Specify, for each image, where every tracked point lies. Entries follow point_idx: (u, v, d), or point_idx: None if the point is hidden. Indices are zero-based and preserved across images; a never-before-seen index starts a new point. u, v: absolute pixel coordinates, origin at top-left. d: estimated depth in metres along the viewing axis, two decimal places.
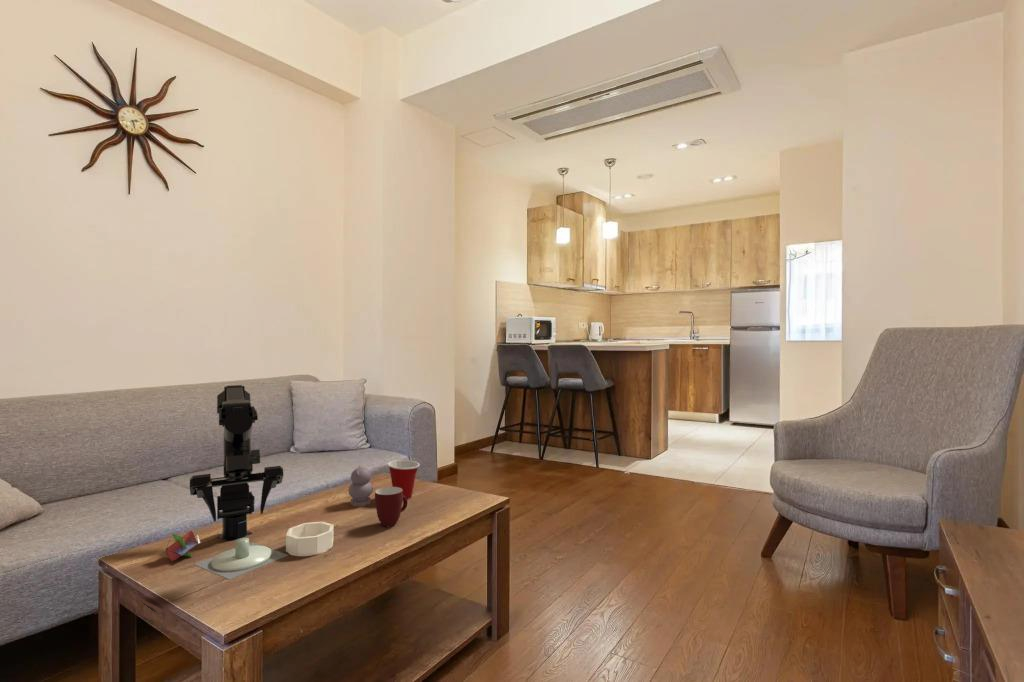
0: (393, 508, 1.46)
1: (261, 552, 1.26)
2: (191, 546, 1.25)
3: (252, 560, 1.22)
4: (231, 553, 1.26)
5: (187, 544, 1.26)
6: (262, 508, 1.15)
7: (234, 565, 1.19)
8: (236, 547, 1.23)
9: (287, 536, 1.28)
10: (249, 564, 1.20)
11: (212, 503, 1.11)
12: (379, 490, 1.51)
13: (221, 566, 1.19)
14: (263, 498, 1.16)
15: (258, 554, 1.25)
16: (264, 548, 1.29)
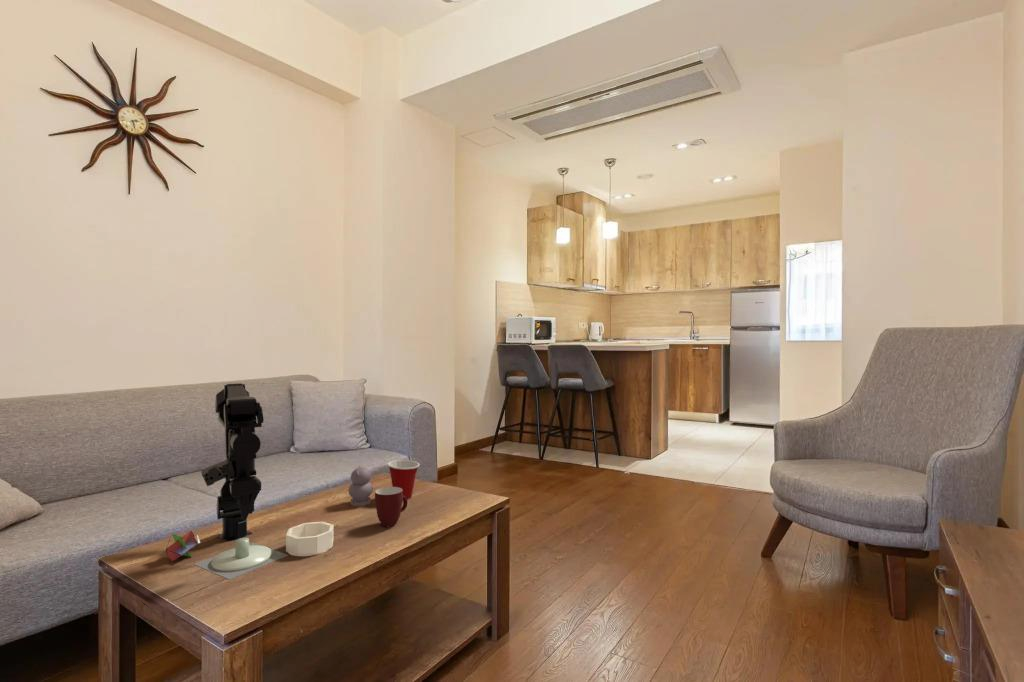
0: (393, 508, 1.46)
1: (261, 552, 1.26)
2: (191, 546, 1.25)
3: (252, 560, 1.22)
4: (231, 553, 1.26)
5: (187, 544, 1.26)
6: (241, 515, 1.20)
7: (234, 565, 1.19)
8: (236, 547, 1.23)
9: (287, 536, 1.28)
10: (249, 564, 1.20)
11: None
12: (379, 490, 1.51)
13: (221, 566, 1.19)
14: (239, 506, 1.19)
15: (258, 554, 1.25)
16: (264, 548, 1.29)
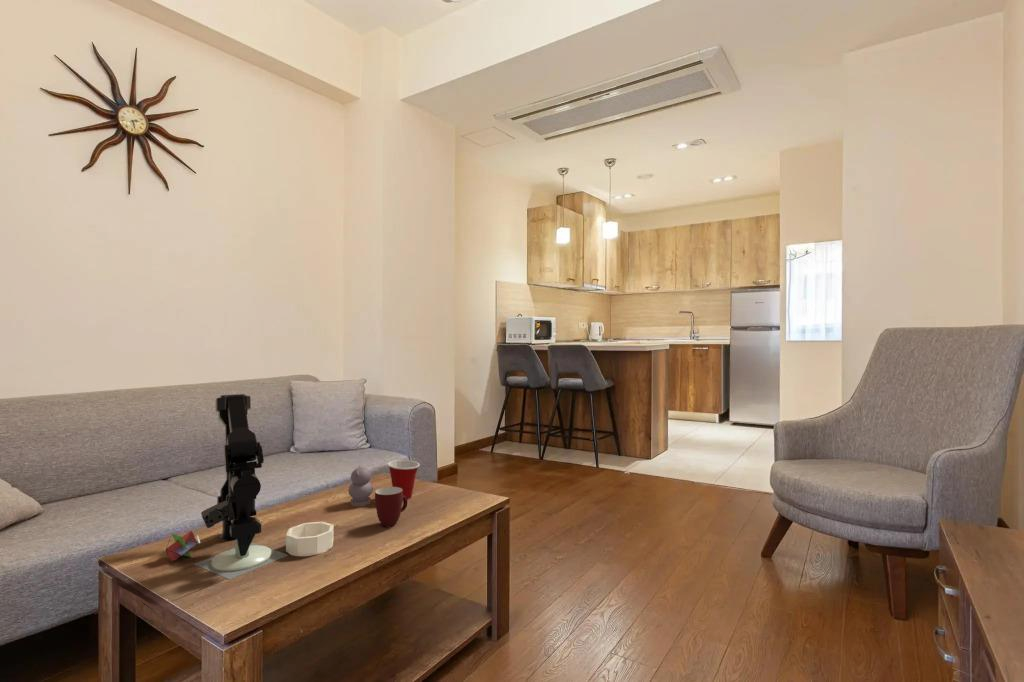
0: (393, 508, 1.46)
1: (261, 552, 1.26)
2: (191, 546, 1.25)
3: (252, 560, 1.22)
4: (231, 553, 1.26)
5: (187, 544, 1.26)
6: None
7: (234, 565, 1.19)
8: (236, 547, 1.23)
9: (287, 536, 1.28)
10: (249, 564, 1.20)
11: None
12: (379, 490, 1.51)
13: (221, 566, 1.19)
14: (238, 544, 1.22)
15: (258, 554, 1.25)
16: (264, 547, 1.29)
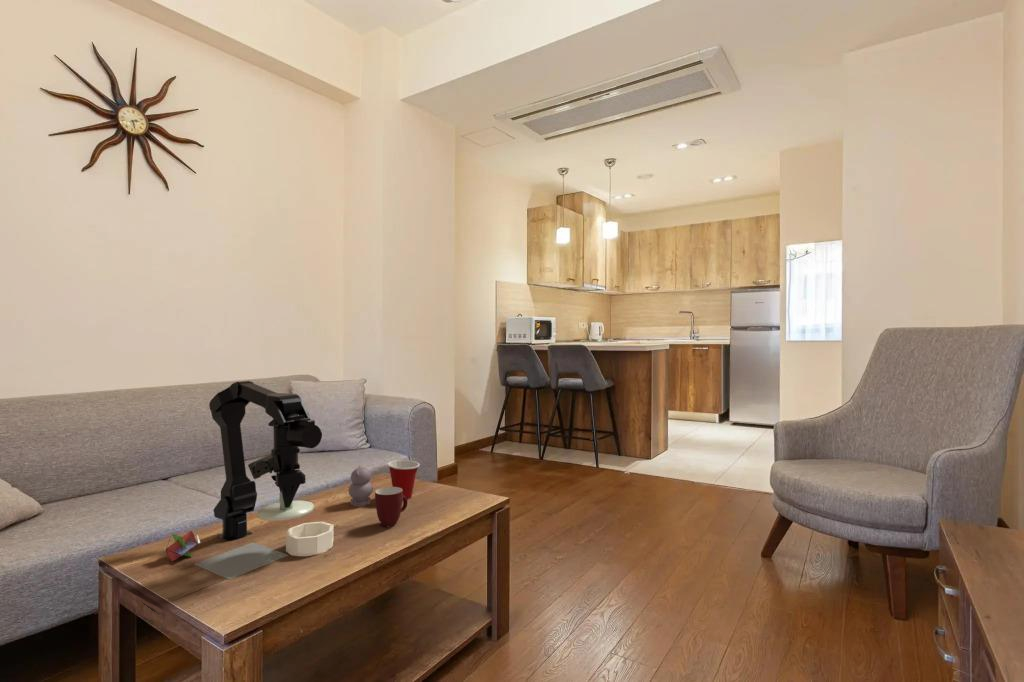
0: (393, 508, 1.46)
1: (304, 505, 1.31)
2: (191, 546, 1.25)
3: (296, 511, 1.26)
4: (275, 506, 1.30)
5: (187, 544, 1.26)
6: (284, 504, 1.27)
7: (280, 515, 1.24)
8: (280, 499, 1.27)
9: (287, 536, 1.28)
10: (294, 514, 1.24)
11: None
12: (379, 490, 1.51)
13: (267, 516, 1.23)
14: None
15: (301, 507, 1.29)
16: (306, 502, 1.33)
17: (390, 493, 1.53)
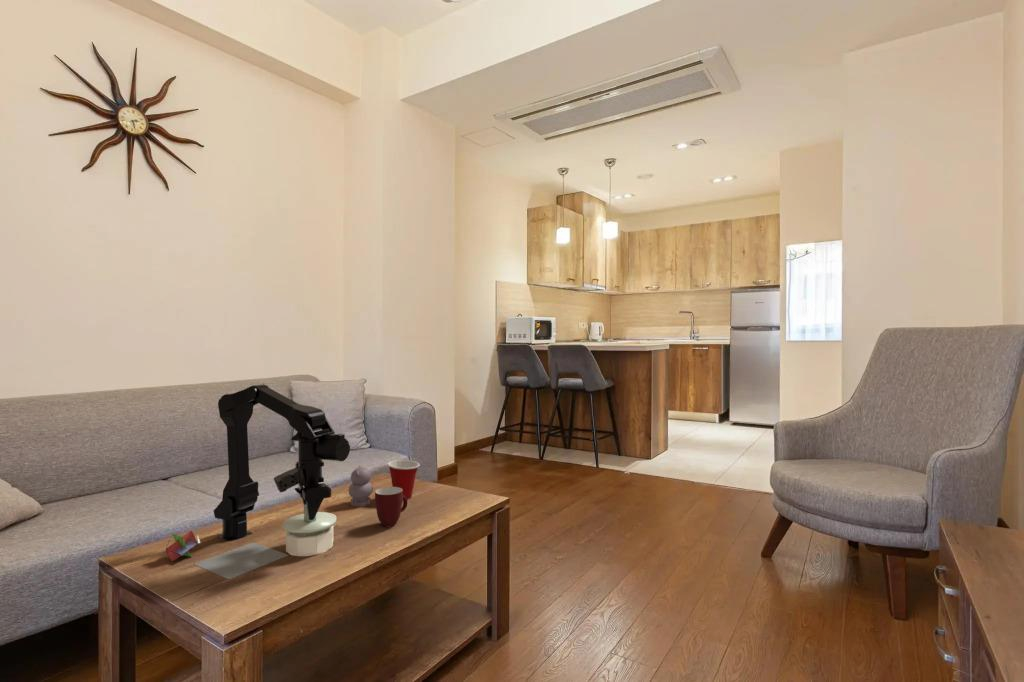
0: (393, 508, 1.46)
1: (327, 517, 1.34)
2: (191, 546, 1.25)
3: (321, 523, 1.29)
4: (299, 518, 1.33)
5: (187, 543, 1.26)
6: None
7: (305, 527, 1.27)
8: (305, 511, 1.30)
9: (287, 536, 1.28)
10: (319, 527, 1.27)
11: (303, 502, 1.33)
12: (379, 490, 1.51)
13: (293, 528, 1.26)
14: (307, 509, 1.29)
15: (324, 519, 1.33)
16: (328, 514, 1.37)
17: (390, 493, 1.53)
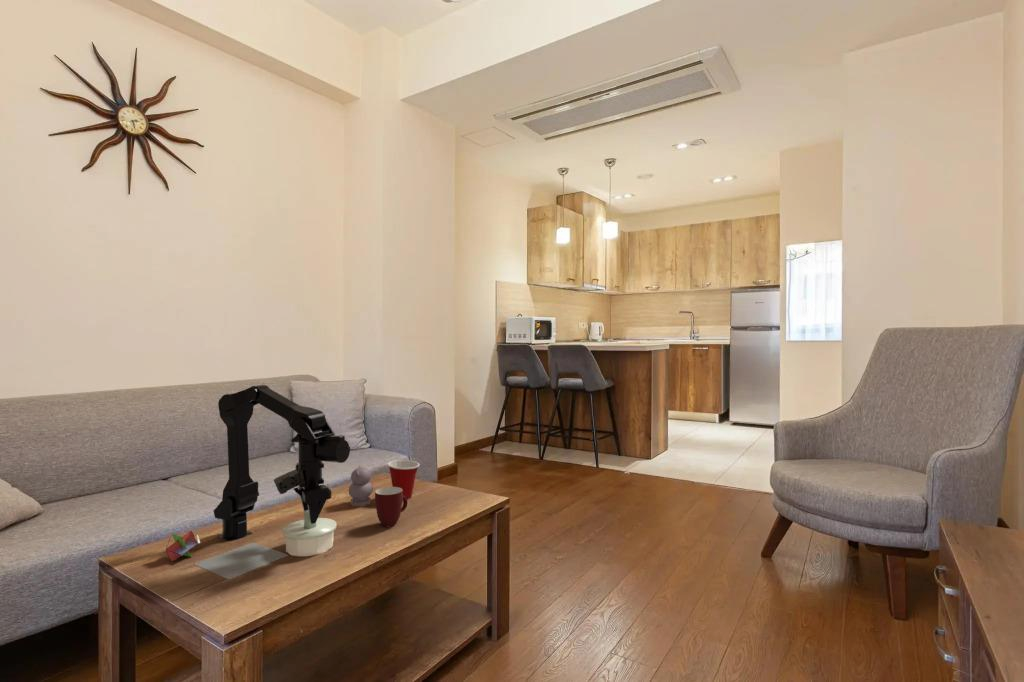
0: (393, 508, 1.46)
1: (327, 523, 1.34)
2: (191, 546, 1.25)
3: (321, 529, 1.29)
4: (299, 524, 1.33)
5: (187, 544, 1.26)
6: (310, 520, 1.28)
7: (305, 533, 1.27)
8: (305, 518, 1.30)
9: None
10: (319, 533, 1.27)
11: (302, 502, 1.34)
12: (379, 490, 1.51)
13: (293, 535, 1.26)
14: (309, 512, 1.28)
15: (325, 525, 1.33)
16: (328, 520, 1.37)
17: (390, 493, 1.53)
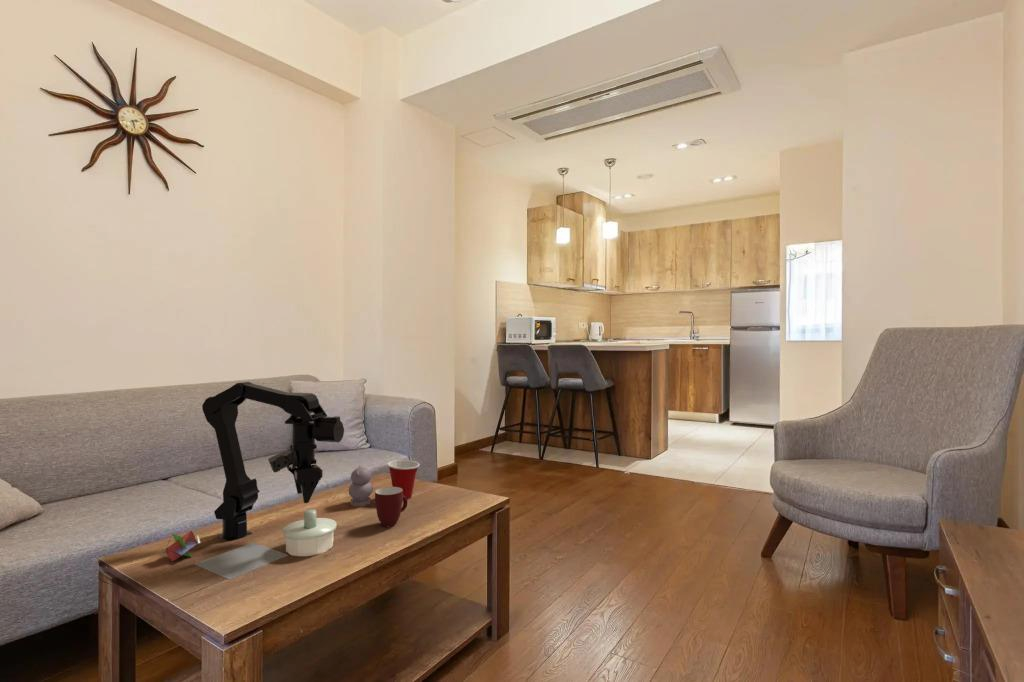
0: (393, 508, 1.46)
1: (327, 523, 1.34)
2: (191, 546, 1.25)
3: (321, 529, 1.29)
4: (299, 524, 1.33)
5: (187, 544, 1.26)
6: (303, 499, 1.32)
7: (305, 533, 1.27)
8: (305, 518, 1.30)
9: None
10: (319, 533, 1.27)
11: None
12: (379, 490, 1.51)
13: (293, 535, 1.26)
14: (302, 492, 1.32)
15: (325, 525, 1.33)
16: (328, 520, 1.37)
17: (390, 493, 1.53)
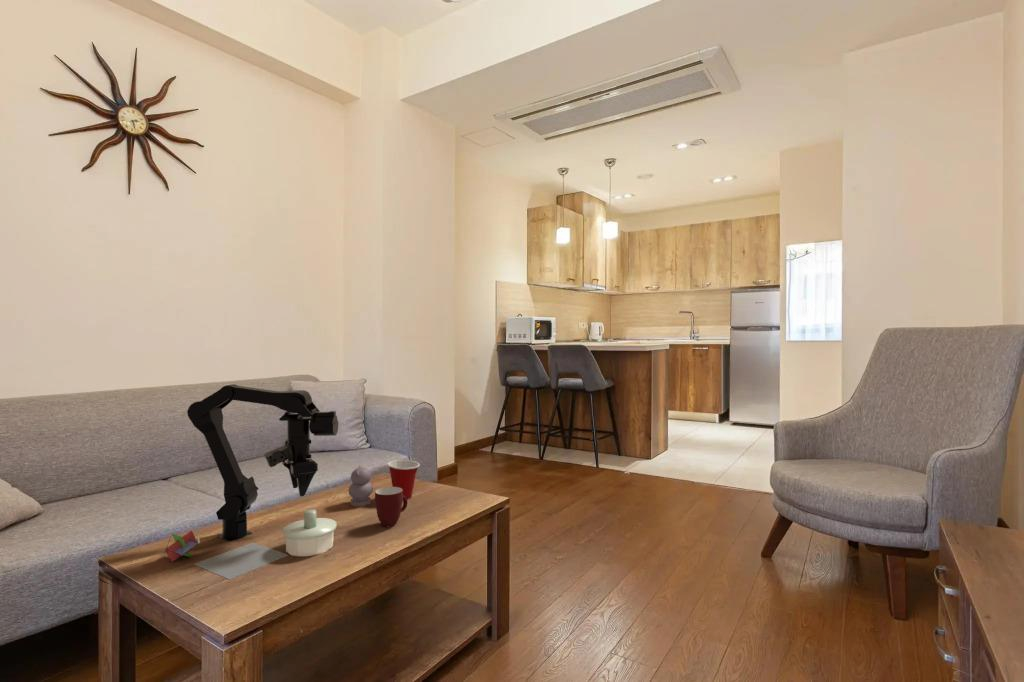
0: (393, 508, 1.46)
1: (327, 523, 1.34)
2: (191, 546, 1.25)
3: (321, 529, 1.29)
4: (299, 524, 1.33)
5: (187, 543, 1.26)
6: (299, 493, 1.37)
7: (305, 533, 1.27)
8: (305, 518, 1.30)
9: None
10: (319, 533, 1.27)
11: (290, 475, 1.45)
12: (379, 490, 1.51)
13: (293, 535, 1.26)
14: (298, 485, 1.36)
15: (325, 525, 1.33)
16: (328, 520, 1.37)
17: (390, 493, 1.53)
